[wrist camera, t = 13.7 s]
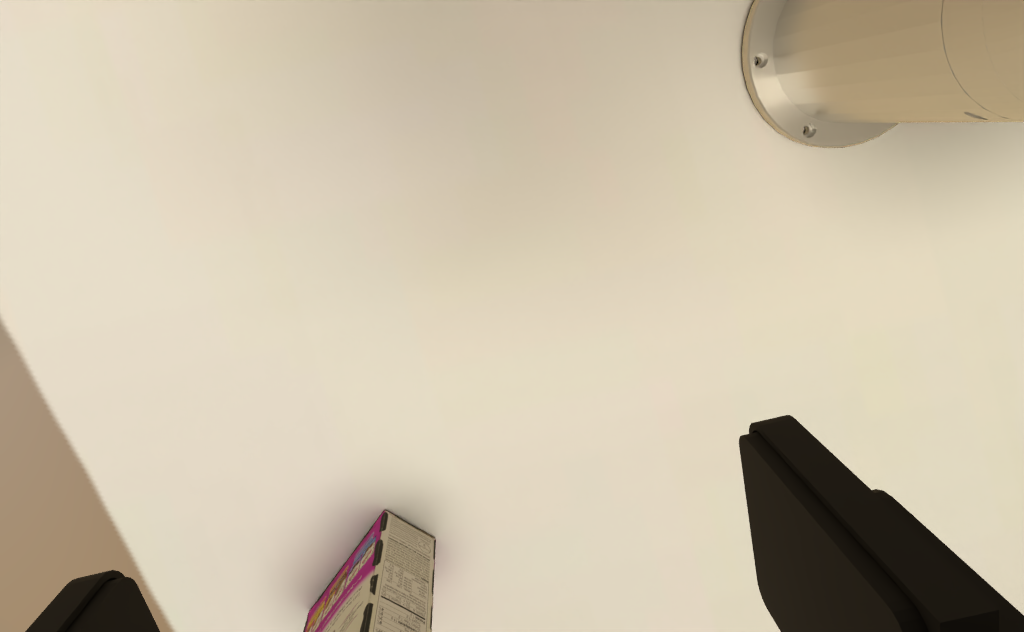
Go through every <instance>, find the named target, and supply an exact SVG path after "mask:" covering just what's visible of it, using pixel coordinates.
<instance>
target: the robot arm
mask: <svg viewBox="0 0 1024 632" xmlns="http://www.w3.org/2000/svg"><path fill="white" fill-rule="evenodd" d="M755 57H756V58H757V59H758V64H757V65H756V66H755V63H754V59H755ZM742 60H743V72H744V76H745V81H746V85H747V89H748V91H749V94H750V96H751V98H752V100H753V103H754V105H755V107H756V108H757V109H758V111H759V112H760V114H761V115H762V116H763V118H764V119H765V121H766V122H768V123H769V124H770V125H771V126H772V127H773V128H774V129H775V130H776V131H777V132H779V133H780V134H782V135H784V136H786V137H787V138H789V139H791V140H792V141H795V142H798V143H801V144H805V145H808V146H814V147H822V148H843V147H848V146H853V145H858V144H862V143H864V142H867V141H869V140H871V139H874V138H876V137H879V136H880V135H882V134H883V133H885V132H886V131H888V130H890V129H891V128H893V127H894V126H896V125H897V124H898V123H902V122H1024V0H754V2H753V4H752V6H751V9H750V12H749V16H748V19H747V22H746V26H745V30H744V38H743V45H742ZM804 127H805V128H806V132H805V133H804V134H803V128H804ZM739 447H740V455H741V462H742V469H743V477H744V484H745V492H746V499H747V507H748V514H749V522H750V529H751V537H752V544H753V552H754V559H755V567H756V574H757V581H758V586H759V590H760V593H761V596H762V599H763V601H764V603H765V605H766V607H767V609H768V611H769V612H770V614H771V616H772V617H773V619H774V621H775V622H776V624H777V626H778V628H779V629H780V631H781V632H1024V615H1022V614H1021V613H1020V612H1019V611H1018V610H1017V609H1016V608H1015V607H1014V606H1012V605H1011V604H1010V603H1009V602H1008V601H1007V600H1006V599H1005V598H1004V597H1002V596H1001V595H1000V594H999V593H998V592H997V591H996V590H995V589H994V588H993V587H991V586H990V585H989V584H988V583H987V582H986V581H985V580H984V579H983V578H981V577H980V576H979V575H978V574H977V573H976V572H975V571H974V570H973V569H971V568H970V567H969V566H968V565H967V564H966V563H965V562H964V561H963V560H962V559H960V558H959V557H958V556H957V555H956V554H955V553H954V552H953V551H952V550H950V549H949V548H948V547H947V546H946V545H945V544H944V543H943V542H942V541H940V540H939V539H938V538H937V537H936V536H935V535H934V534H933V533H932V532H931V531H929V530H928V529H927V528H926V527H925V526H924V525H923V524H922V523H921V522H919V521H918V520H917V519H916V518H915V517H914V516H913V515H912V514H911V513H909V512H908V511H907V510H906V509H905V508H904V507H903V506H902V505H901V504H900V503H898V502H897V501H896V500H895V499H894V498H893V497H892V496H890V495H889V494H887V493H886V492H884V491H882V490H877V489H875V490H871V489H870V488H868V487H867V486H866V485H865V484H864V483H863V482H862V481H861V480H860V479H859V478H858V477H857V476H856V475H855V474H853V473H852V472H851V471H850V470H849V469H848V468H847V467H846V466H845V465H844V464H843V463H842V462H841V461H840V460H839V459H837V458H836V457H835V456H834V455H833V454H832V453H831V452H830V451H829V450H828V449H827V448H826V447H825V446H824V445H822V444H821V443H820V442H819V441H818V440H817V439H816V438H815V437H814V436H813V435H812V434H811V433H810V432H809V431H807V430H806V429H805V428H804V427H803V426H802V425H801V424H800V423H799V422H798V421H797V420H796V419H795V418H793V417H792V416H790V415H785V416H781V417H777V418H772V419H768V420H764V421H759V422H755V423H751V425H750V428H749V434H747V435H743V436H740V439H739ZM26 632H160V631H159V629H158V627H157V625H156V622H155V620H154V618H153V616H152V614H151V612H150V610H149V608H148V606H147V604H146V602H145V600H144V598H143V596H142V594H141V592H140V590H139V588H138V586H137V584H136V582H135V581H134V580H133V579H131V578H129V577H125V576H124V575H123V574H122V573H120V572H119V571H114V570H111V571H107V572H102V573H98V574H94V575H90V576H85V577H81V578H77V579H74V580H72V581H71V582H69V583H68V584H67V585H66V586H65V587H64V588H63V589H62V591H61V592H60V593H59V594H58V595H57V596H56V597H55V599H54V600H53V601H52V602H51V603H50V604H49V605H48V606H47V608H46V609H45V610H44V611H43V612H42V613H41V615H40V616H39V617H38V618H37V619H36V620H35V622H34V623H33V624H32V625H31V626H30V627H29V628H28V629H27V631H26Z"/></svg>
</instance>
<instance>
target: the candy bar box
mask: <svg viewBox="0 0 1024 632" xmlns="http://www.w3.org/2000/svg"><path fill="white" fill-rule="evenodd" d="M435 542H436V540H435V538H433V537H432V536H431V535H429V534H427V533H426V532H424V531H422V530H420V529H418V528H416V527H414V526H412V525H410V524H408V523H407V522H405V521H404V520H402V519H400V518H399V517H397V516H395V515H393V514H391V513H390V512H388V511H383V513H382V514H381V515H380V517H379V518H378V520H377V521H376V522H375V524H374V525H373V526H372V528H371V529H370V531H369V532H368V533H367V535H366V536H365V537H364V539H363V540H362V541H361V543H360V544H359V545H358V547H357V548H356V549H355V551H354V552H353V554H352V555H351V556H350V558H349V559H348V560H347V562H346V563H345V565H344V566H343V567H342V569H341V570H340V571H339V573H338V574H337V575H336V577H335V578H334V579H333V581H332V582H331V583H330V585H329V586H328V587H327V589H326V590H325V591H324V593H323V594H322V596H321V597H320V598H319V600H318V601H317V602H316V603H315V605H314V606H313V607H312V609H311V610H310V612H309V613H308V617H307V621H306V624H305V627H304V631H303V632H432V629H431V626H432V609H433V587H434V568H435Z"/></svg>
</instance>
